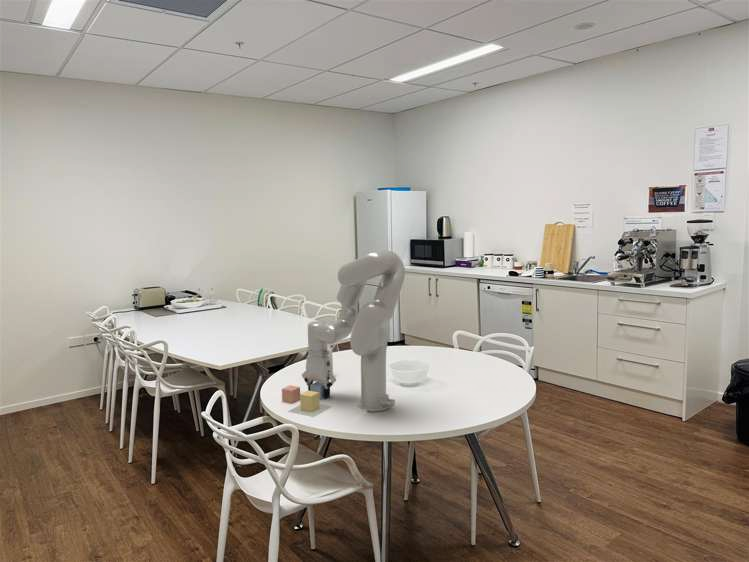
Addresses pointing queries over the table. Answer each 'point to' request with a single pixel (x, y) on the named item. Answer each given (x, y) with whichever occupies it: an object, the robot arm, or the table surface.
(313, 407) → the brick base
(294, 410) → the build plate
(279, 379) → the table surface
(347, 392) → the table surface
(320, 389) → the brick
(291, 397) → the brick
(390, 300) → the robot arm
